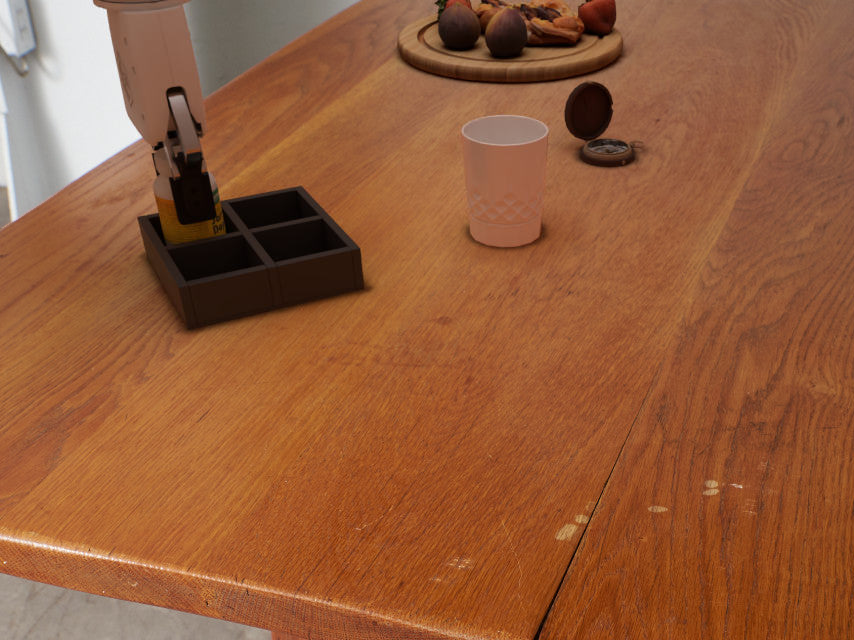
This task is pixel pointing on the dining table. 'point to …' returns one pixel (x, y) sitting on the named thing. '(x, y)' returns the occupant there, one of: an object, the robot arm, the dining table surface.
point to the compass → (596, 126)
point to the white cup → (505, 178)
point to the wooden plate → (513, 40)
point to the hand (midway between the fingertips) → (188, 205)
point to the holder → (256, 259)
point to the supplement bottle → (167, 212)
